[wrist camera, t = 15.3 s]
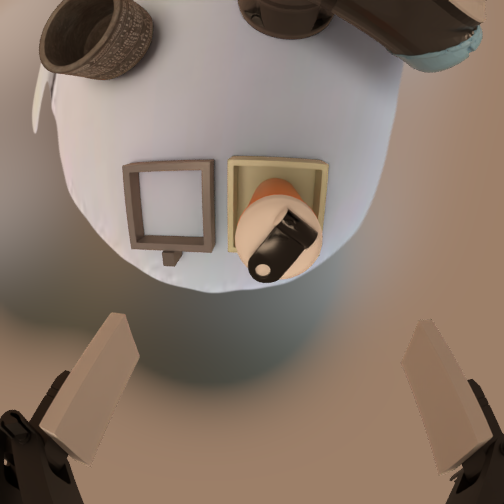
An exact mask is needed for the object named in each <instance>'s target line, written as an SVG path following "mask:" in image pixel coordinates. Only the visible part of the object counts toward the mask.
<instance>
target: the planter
mask: <svg viewBox="0 0 504 504" xmlns="http://www.w3.org/2000/svg"><path fill="white" fill-rule="evenodd" d="M152 35H153V22H152V19H151V17H150V15H149V13H148V12H147V11H146V10H145V9H144V8H143V7H141V6H140V5H139V4H137V3H136V2H134V1H133V0H63V1H62V2H61V3H60V4H59V5H58V6H57V8H56V9H55V10H54V11H53V13H52V14H51V16H50V17H49V19H48V21H47V23H46V25H45V27H44V29H43V32H42V35H41V39H40V44H39V55H40V60H41V63H42V64H43V66H44V67H45V68H46V69H47V70H48V71H50V72H53V73H59V74H66V75H73V76H80V77H85V78H90V79H96V80H108V79H112V78H115V77H118V76H120V75H122V74H124V73H125V72H127V71H128V70H130V69H131V68H132V67H134V66H135V65H136V64H137V63H138V62H139V61H140V60H141V59H142V57H143V56H144V55H145V53H146V52H147V50H148V48H149V45H150V43H151V40H152Z"/></svg>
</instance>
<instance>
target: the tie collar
mask: <svg viewBox="0 0 504 504" xmlns="http://www.w3.org/2000/svg"><path fill="white" fill-rule="evenodd" d="M122 169H123V182H124V194H125V204H126V213H127V221H128V229H129V236H130V243H131V249H143V250H164V251H163V252H162V257H163V265H164V266H175V265H176V264H177V262H178V261H179V259H180V258H181V256H182V251H186V252H207V253H212V251H213V249H214V246H215V204H214V159H211V160H171V161H151V162H136V163H130V164H127V165H123V166H122ZM177 170H202V209H203V234H204V237H184V236H153V235H144V228H143V219H142V209H141V198H140V186H139V172H151V171H177Z"/></svg>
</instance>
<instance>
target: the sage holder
mask: <svg viewBox="0 0 504 504" xmlns="http://www.w3.org/2000/svg"><path fill="white" fill-rule="evenodd" d="M328 167H329V165H328V164H327V163H325V162H323V161H322V160H314V159H301V158H285V157H264V156H232V157H231V158H229V159H228V252H237V249H236V246H235V234H236V229H237V224H238V221H239V219H240V216H241V215H242V213H243V212H244V210H245V209H246V208H247V207H248V205H249V202H250V200H251V198H252V196H253V194H254V192H255V190H256V188H257V187H258V186H259V185H260V183H262V182H263V181H265V180H267V179H271V178H280V179H284V180H286V181H288V182H289V183H290V184H291V185H292V186H293V187H294V188H295V190H296V191H297V192H298V194H299V195H300V197H301V198H302V200H303V201H304V202H305V203H306V204H307V205H308V206H309V207H310V208H311V209H312V210H313V212H314V213H315V215H316V217H317V219H318V221H319V224H320V226H321V230H323V221H324V211H325V202H326V191H327V180H328ZM319 254H320V253H319ZM318 256H319V255H318Z"/></svg>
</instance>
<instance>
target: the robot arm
mask: <svg viewBox="0 0 504 504" xmlns="http://www.w3.org/2000/svg"><path fill="white" fill-rule="evenodd" d="M485 1H486V0H238V4H239V8H240V11H241V14H242V15H243V17H244V19H245V20H246V21H247V22H248V23H249V24H250V25H251V26H252V27H253V28H255V29H256V30H258V31H260V32H262V33H264V34H266V35H269V36H272V37H276V38H281V39H302V38H306V37H310V36H313V35H315V34H317V33H319V32H321V31H322V30H323V29H325V28H326V27H327V26H328V24H329V23H330V21H331V20H332V18H333V16H334V14H335V15H337V16H338V17H340V18H342V19H343V20H345V21H347V22H348V23H350V24H352V25H353V26H355V27H357V28H358V29H360V30H361V31H363V32H364V33H366V34H367V35H369V36H370V37H372V38H373V39H375V40H376V41H377V42H379V43H380V44H382V45H383V46H384V47H386V49H387V51H388V52H390V53H391V54H392V55H395V56H396V57H399V58H400V59H402V60H403V61H404V62H406V63H407V64H408V65H409V66H411V67H413V68H414V69H417V70H419V71H422V72H439V71H443V70H446V69H448V68H451V67H453V66H455V65H457V64H459V63H461V62H462V61H464V60H465V59H466V58H468V57H469V53H470V52H472V51H475V50H476V49H477V47H478V46H479V45H480V43H481V40H482V29H481V27H480V24H481V23H483V22H484V21H485V20H486V16H485V15H486V14H485ZM139 357H140V356H139V353H138V351H137V348H136V345H135V343H134V340H133V337H132V334H131V331H130V328H129V325H128V322H127V319H126V315H125V314H119V313H111V314H110V315H109V316H108V318H107V319H106V321H105V322H104V324H103V325H102V326H101V328H100V329H99V331H98V332H97V333H96V335H95V336H94V338H93V339H92V341H91V342H90V344H89V345H88V346H87V348H86V349H85V351H84V352H83V354H82V356H81V357H80V358H79V360H78V362H77V363H76V365H75V366H74V368H73V370H72V371H71V372H69V371H66V370H65V371H64V372H63V373H61V374H60V375H59V376H58V377H57V378H56V379H55V381H54V382H53V384H52V385H51V388H50V389H49V390H48V392H47V395H46V396H45V397H44V398H43V400H42V401H41V403H40V405H39V406H38V408H37V410H36V412H35V413H34V415H33V417H32V418H31V420H30V421H29V422H28V421H27V420H26V419H25V418H24V417H23V415H22V414H21V413H20V412H19V411H16V410H9V411H7V412H5V413H4V414H3V415H2V416H1V418H0V504H84V503H83V501H82V498H81V495H80V493H79V490H78V487H77V485H76V482H75V479H74V476H73V473H72V470H71V467H70V464H69V462H68V460H67V457H68V455H70V456H71V457H72V458H73V459H74V460H75V461H78V462H80V463H82V464H84V465H87V466H89V467H91V464H92V462H93V459H94V457H95V455H96V452H97V450H98V447H99V445H100V442H101V440H102V438H103V435H104V433H105V431H106V428H107V426H108V424H109V421H110V419H111V417H112V415H113V412H114V410H115V408H116V406H117V404H118V402H119V399H120V397H121V395H122V393H123V391H124V388H125V386H126V384H127V382H128V380H129V378H130V376H131V374H132V372H133V369H134V368H135V365H136V363H137V361H138V359H139ZM401 365H402V367H403V370H404V372H405V374H406V377H407V380H408V382H409V385H410V387H411V390H412V393H413V395H414V398H415V401H416V404H417V407H418V409H419V412H420V415H421V418H422V421H423V424H424V427H425V430H426V433H427V436H428V440H429V443H430V446H431V449H432V453H433V456H434V460H435V463H436V467H437V471H438V475H439V476H440V475H442V474H445V473H448V472H450V471H453V470H454V469H456V468H457V467H458V466H460V465H461V464H462V466H463V468H462V469H461V470H460V471H458V472H457V473H456V474H454V475H453V476H452V477H451V478H450V481H452V480H453V479H455V478H456V477H457V479H456V480H455V481H454V482H455V485H454V487H453V489H452V491H451V493H450V495H449V498H448V500H447V502H446V504H504V434H503V433H502V431H501V429H500V427H499V425H498V422H497V420H496V418H495V416H494V414H493V412H492V409H491V407H490V405H488V401H487V399H486V398H485V395H484V393H483V391H482V389H481V387H480V386H479V385H478V384H477V383H476V382H475V381H474V380H473V379H470V380H467V379H466V377H465V375H464V373H463V372H462V370H461V368H460V366H459V364H458V362H457V361H456V359H455V357H454V355H453V354H452V352H451V350H450V348H449V347H448V345H447V344H446V342H445V340H444V338H443V337H442V335H441V333H440V332H439V330H438V329H437V327H436V326H435V324H434V322H433V321H432V319H429V320H419V321H418V323H417V326H416V328H415V331H414V333H413V336H412V338H411V341H410V343H409V345H408V347H407V350H406V352H405V354H404V356H403V359H402V361H401ZM4 459H6V460H7V465H4Z"/></svg>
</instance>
